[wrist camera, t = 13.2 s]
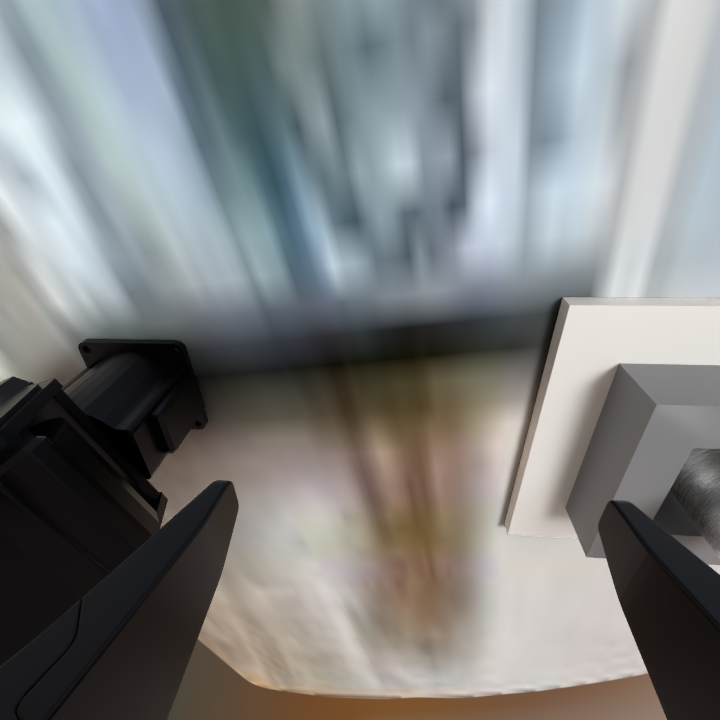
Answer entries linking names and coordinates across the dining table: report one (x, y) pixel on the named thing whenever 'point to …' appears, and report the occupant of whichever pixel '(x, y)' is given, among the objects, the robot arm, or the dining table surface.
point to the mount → (619, 417)
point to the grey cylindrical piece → (701, 493)
